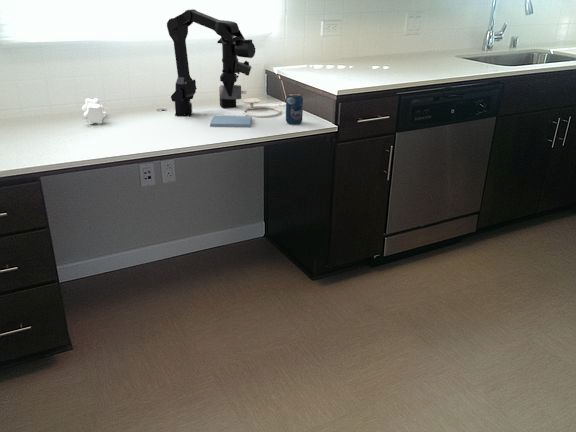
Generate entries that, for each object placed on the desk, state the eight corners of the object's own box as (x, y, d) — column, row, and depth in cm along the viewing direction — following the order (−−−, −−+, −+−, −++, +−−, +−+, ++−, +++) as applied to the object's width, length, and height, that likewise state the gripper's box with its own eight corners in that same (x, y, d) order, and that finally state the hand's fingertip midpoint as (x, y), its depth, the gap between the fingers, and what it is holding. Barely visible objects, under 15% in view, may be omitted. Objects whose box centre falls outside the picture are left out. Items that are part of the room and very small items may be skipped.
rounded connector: (219, 99, 221) (219, 86, 219) (220, 97, 224) (220, 84, 222) (246, 99, 221) (245, 87, 219) (246, 97, 224) (246, 85, 222)
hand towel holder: (257, 110, 230) (230, 101, 245) (257, 120, 232) (231, 110, 247) (288, 105, 240) (261, 96, 254) (288, 114, 242) (261, 105, 256)
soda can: (292, 126, 224) (293, 97, 219) (282, 122, 229) (282, 93, 224) (305, 123, 228) (306, 94, 223) (295, 120, 233) (295, 91, 228)
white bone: (106, 125, 222) (106, 105, 219) (84, 125, 219) (83, 105, 216) (103, 116, 235) (103, 97, 232) (82, 116, 232) (81, 96, 228)
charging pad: (210, 126, 221) (210, 123, 221) (214, 118, 233) (214, 115, 232) (249, 127, 221) (249, 124, 221) (251, 118, 233) (251, 116, 233)
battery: (236, 107, 251) (236, 85, 247) (222, 108, 248) (221, 86, 244) (233, 105, 255) (233, 83, 250) (219, 106, 252) (218, 84, 248)
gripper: (248, 60, 207) (249, 100, 214) (251, 52, 224) (251, 90, 231) (219, 59, 207) (220, 100, 214) (224, 52, 224) (225, 90, 231)
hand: (230, 95), depth 222 cm, fingers closed on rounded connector, 4 cm apart
